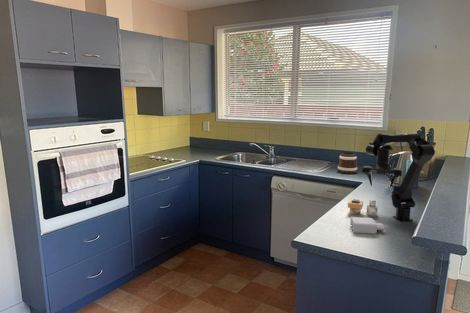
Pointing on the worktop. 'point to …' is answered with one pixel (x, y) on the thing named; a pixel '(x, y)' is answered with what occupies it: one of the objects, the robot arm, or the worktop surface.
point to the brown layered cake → (347, 163)
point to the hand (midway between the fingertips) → (380, 186)
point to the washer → (355, 204)
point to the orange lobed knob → (372, 209)
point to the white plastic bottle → (365, 225)
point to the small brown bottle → (353, 210)
